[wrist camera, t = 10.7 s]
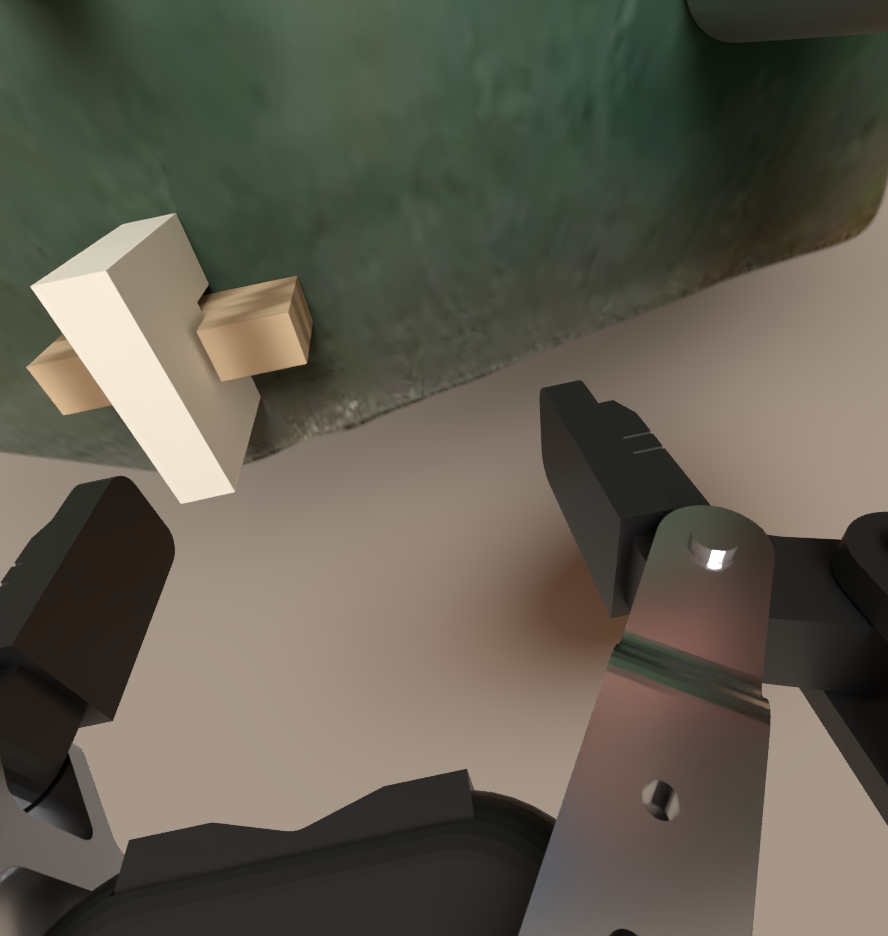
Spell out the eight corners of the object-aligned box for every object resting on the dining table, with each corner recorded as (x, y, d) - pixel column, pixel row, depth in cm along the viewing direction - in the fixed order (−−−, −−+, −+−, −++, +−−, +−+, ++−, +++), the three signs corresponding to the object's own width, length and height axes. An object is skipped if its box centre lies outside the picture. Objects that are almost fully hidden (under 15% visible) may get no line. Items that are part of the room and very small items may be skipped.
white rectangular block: (122, 224, 32) (30, 286, 23) (175, 212, 32) (105, 270, 23) (218, 405, 41) (181, 503, 32) (260, 396, 41) (234, 491, 32)
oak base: (297, 275, 36) (288, 312, 30) (313, 321, 38) (306, 363, 32) (75, 321, 35) (26, 367, 30) (104, 365, 37) (63, 415, 32)
